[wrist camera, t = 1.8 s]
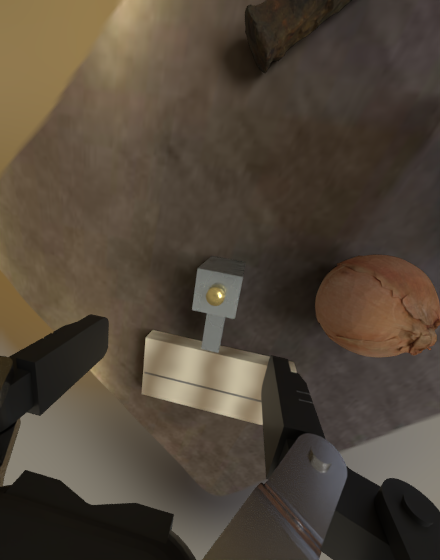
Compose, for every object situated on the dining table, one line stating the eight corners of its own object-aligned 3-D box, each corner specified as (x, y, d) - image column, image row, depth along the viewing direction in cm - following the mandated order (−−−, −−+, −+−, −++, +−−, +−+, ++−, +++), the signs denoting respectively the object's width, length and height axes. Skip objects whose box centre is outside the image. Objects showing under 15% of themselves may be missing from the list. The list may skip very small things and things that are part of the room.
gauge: (245, 262, 25) (242, 279, 17) (230, 336, 28) (222, 379, 20) (212, 255, 25) (195, 270, 18) (200, 330, 28) (182, 369, 21)
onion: (370, 288, 27) (478, 342, 18) (308, 331, 26) (385, 406, 18) (358, 223, 22) (497, 253, 13) (282, 275, 22) (371, 339, 13)
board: (293, 362, 27) (297, 372, 25) (277, 416, 30) (278, 429, 28) (152, 329, 29) (145, 337, 27) (148, 383, 32) (141, 394, 30)
